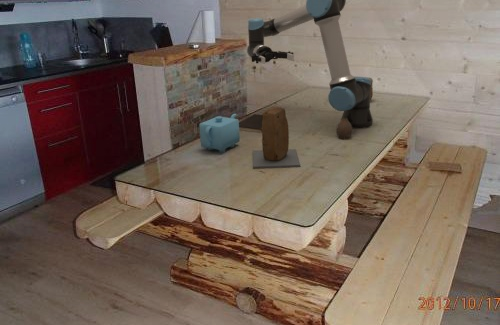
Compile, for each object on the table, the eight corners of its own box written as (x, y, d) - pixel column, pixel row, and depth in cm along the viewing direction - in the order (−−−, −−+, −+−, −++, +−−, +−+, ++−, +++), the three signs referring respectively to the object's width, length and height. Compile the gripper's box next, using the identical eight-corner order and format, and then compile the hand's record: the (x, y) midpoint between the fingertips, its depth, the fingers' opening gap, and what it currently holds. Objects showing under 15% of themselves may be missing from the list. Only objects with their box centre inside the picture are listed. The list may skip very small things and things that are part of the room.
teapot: (218, 156, 185) (215, 124, 180) (197, 152, 191) (194, 120, 186) (247, 141, 202) (246, 111, 197) (227, 137, 208) (225, 108, 203)
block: (276, 163, 173) (275, 113, 166) (260, 159, 178) (259, 110, 170) (291, 154, 181) (291, 106, 174) (276, 151, 186) (275, 104, 178)
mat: (295, 150, 188) (295, 148, 187) (300, 166, 171) (300, 164, 171) (252, 152, 188) (252, 150, 188) (253, 168, 171) (253, 166, 171)
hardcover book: (232, 130, 220) (232, 125, 219) (254, 118, 239) (254, 113, 238) (261, 133, 213) (261, 129, 212) (281, 121, 232) (281, 116, 231)
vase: (352, 135, 203) (353, 117, 200) (350, 140, 197) (351, 121, 194) (337, 134, 205) (338, 116, 202) (335, 139, 199) (335, 120, 196)
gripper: (287, 59, 221) (305, 65, 202) (238, 63, 214) (252, 70, 195) (287, 43, 218) (305, 48, 199) (237, 47, 212) (251, 52, 193)
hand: (279, 59), depth 197 cm, fingers open, 13 cm apart
